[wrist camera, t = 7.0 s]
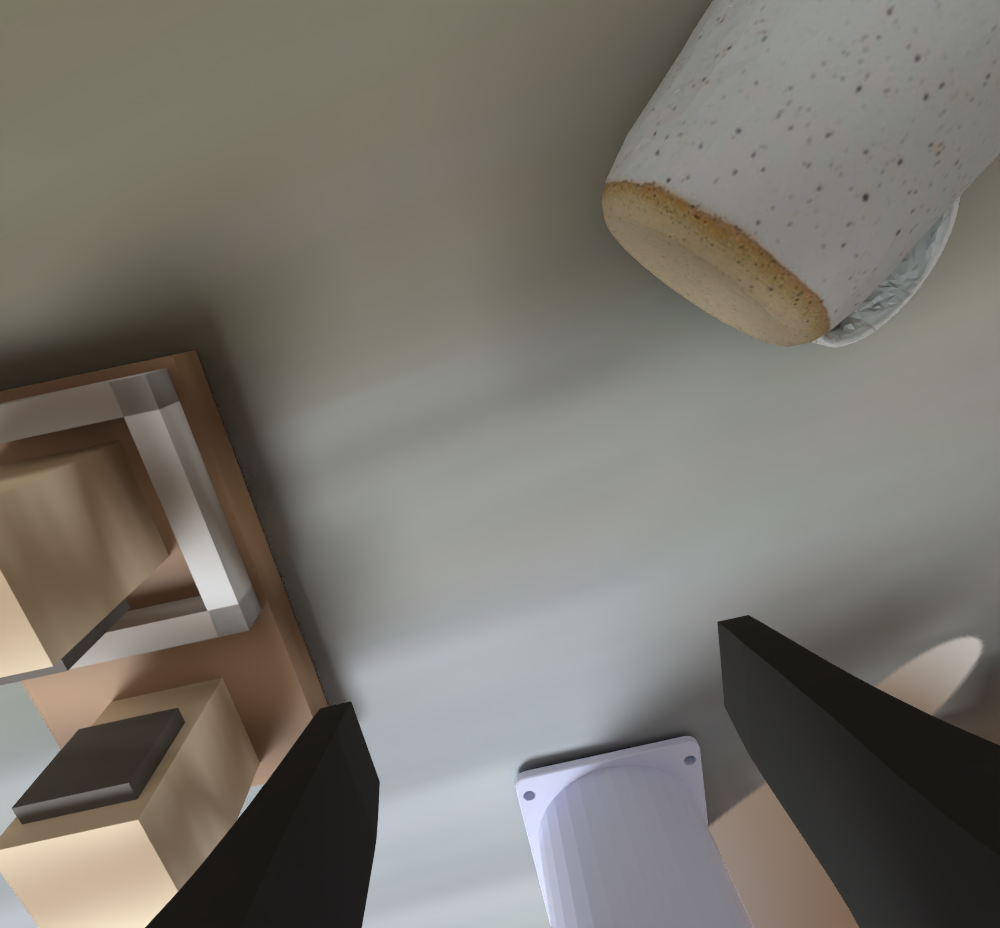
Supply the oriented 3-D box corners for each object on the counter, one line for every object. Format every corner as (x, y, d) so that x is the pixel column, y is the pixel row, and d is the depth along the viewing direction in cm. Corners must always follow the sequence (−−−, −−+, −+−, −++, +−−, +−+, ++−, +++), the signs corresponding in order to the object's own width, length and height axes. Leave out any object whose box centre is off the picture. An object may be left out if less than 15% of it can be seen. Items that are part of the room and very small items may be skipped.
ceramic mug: (556, 219, 17) (636, 178, 10) (723, -49, 15) (967, -334, 8) (796, 396, 20) (997, 467, 13) (963, 185, 18) (1309, 126, 11)
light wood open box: (340, 738, 23) (292, 926, 16) (124, 785, 23) (-14, 994, 16) (195, 349, 18) (38, 390, 11) (-85, 409, 18) (-412, 486, 11)
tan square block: (-12, 467, 17) (-221, 550, 12) (118, 440, 17) (-33, 511, 12) (56, 597, 18) (-103, 722, 13) (176, 571, 18) (64, 687, 13)
